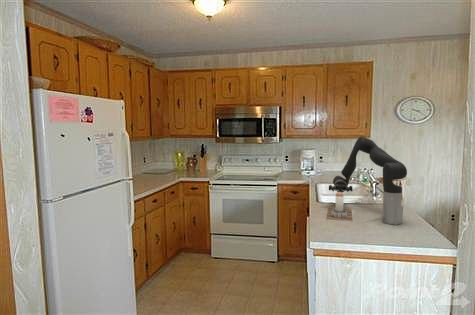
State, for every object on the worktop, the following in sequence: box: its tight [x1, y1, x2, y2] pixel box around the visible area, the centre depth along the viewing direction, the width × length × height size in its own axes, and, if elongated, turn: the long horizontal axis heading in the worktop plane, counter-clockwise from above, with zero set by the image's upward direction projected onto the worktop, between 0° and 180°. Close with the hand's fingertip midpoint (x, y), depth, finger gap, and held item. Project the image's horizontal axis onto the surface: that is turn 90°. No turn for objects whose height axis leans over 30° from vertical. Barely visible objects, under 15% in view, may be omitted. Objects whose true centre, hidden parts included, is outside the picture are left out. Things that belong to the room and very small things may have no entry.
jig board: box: [325, 207, 353, 222], centre depth 191 cm, size 26×14×1 cm, turn 162°
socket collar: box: [332, 208, 347, 218], centre depth 187 cm, size 8×8×3 cm
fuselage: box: [334, 191, 345, 212], centre depth 186 cm, size 4×4×14 cm
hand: (340, 190), depth 197 cm, fingers open, 8 cm apart
